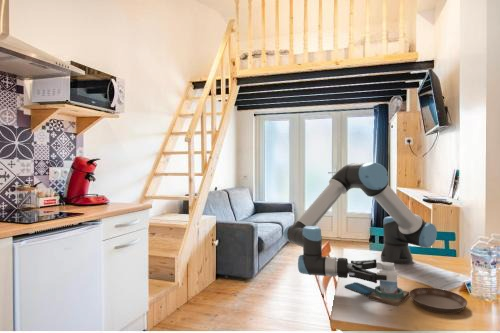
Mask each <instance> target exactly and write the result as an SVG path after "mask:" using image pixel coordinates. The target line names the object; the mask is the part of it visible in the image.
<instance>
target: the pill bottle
mask: <svg viewBox="0 0 500 333" xmlns="http://www.w3.org/2000/svg"><path fill="white" fill-rule="evenodd" d="M381 262H382V263H381V267H382V269H379V272H380V273H392V274H397V271H396V269H395V264H393V263H390V262H384V261H381ZM397 275H398V274H397ZM379 285H380V291H381V292H384V293H388V294H397V287H398V281H397V282H389V281H379Z"/></svg>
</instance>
